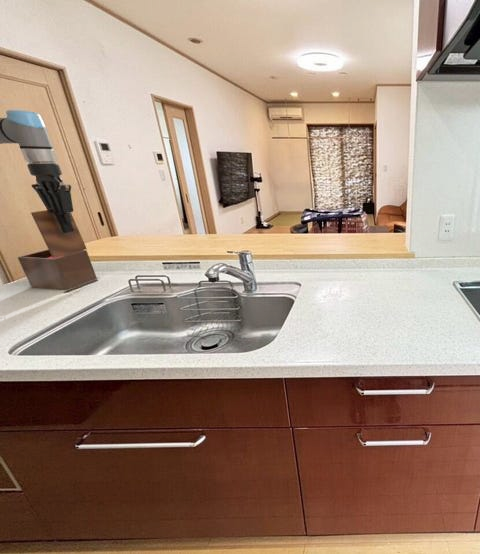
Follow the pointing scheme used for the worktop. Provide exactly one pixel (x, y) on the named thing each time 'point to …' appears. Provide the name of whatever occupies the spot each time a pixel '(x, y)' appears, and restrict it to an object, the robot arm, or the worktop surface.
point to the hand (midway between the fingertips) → (68, 231)
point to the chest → (58, 270)
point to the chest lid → (58, 234)
